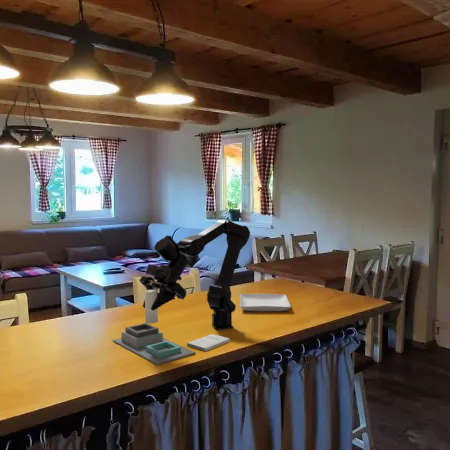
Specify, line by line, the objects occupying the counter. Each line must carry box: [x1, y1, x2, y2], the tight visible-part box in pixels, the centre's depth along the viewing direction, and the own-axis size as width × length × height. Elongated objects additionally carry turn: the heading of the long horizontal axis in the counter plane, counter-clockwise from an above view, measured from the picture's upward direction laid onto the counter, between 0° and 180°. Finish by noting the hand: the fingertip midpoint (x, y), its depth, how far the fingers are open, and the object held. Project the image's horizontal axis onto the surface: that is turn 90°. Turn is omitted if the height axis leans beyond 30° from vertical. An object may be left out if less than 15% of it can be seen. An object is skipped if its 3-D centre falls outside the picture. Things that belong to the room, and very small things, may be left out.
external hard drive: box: [186, 333, 231, 352], centre depth 157 cm, size 2×8×12 cm
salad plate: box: [239, 293, 292, 312], centre depth 204 cm, size 21×21×3 cm
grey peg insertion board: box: [112, 322, 196, 366], centre depth 153 cm, size 28×14×5 cm, turn 41°
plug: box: [144, 289, 159, 324], centre depth 151 cm, size 4×4×10 cm
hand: (147, 308), depth 150 cm, fingers closed on plug, 4 cm apart
